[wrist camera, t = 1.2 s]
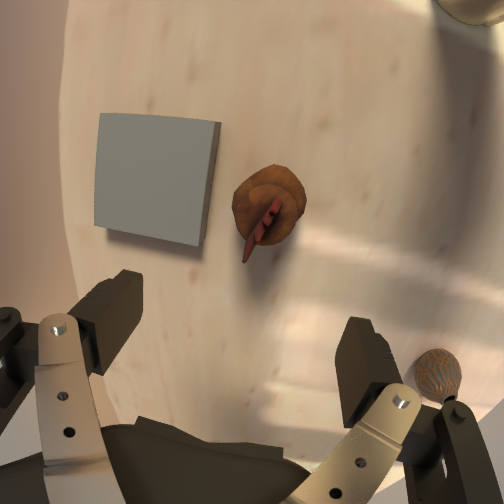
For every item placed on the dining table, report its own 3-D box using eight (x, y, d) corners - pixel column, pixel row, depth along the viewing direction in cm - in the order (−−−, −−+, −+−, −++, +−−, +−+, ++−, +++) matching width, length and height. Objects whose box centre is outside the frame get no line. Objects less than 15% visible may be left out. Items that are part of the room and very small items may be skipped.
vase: (458, 345, 39) (480, 384, 30) (434, 378, 41) (451, 418, 33) (425, 337, 38) (447, 378, 30) (401, 372, 41) (416, 415, 33)
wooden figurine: (261, 230, 35) (243, 299, 21) (230, 187, 34) (190, 231, 20) (313, 197, 33) (331, 248, 19) (282, 152, 32) (280, 170, 18)
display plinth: (221, 122, 31) (214, 121, 28) (204, 237, 36) (198, 246, 34) (113, 113, 32) (100, 113, 29) (106, 218, 37) (94, 225, 34)
